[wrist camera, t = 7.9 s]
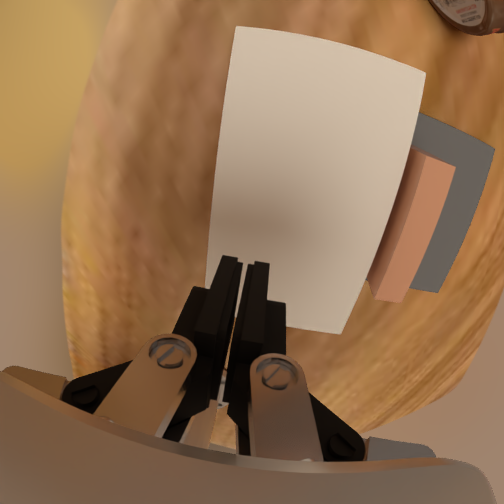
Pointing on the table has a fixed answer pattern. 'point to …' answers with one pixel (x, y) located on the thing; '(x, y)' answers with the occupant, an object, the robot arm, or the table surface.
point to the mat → (450, 195)
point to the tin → (473, 15)
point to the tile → (410, 224)
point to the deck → (309, 167)
